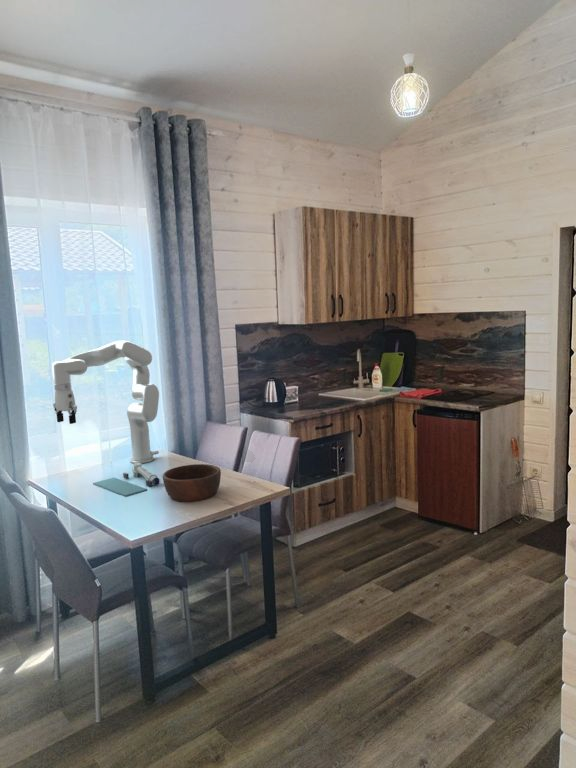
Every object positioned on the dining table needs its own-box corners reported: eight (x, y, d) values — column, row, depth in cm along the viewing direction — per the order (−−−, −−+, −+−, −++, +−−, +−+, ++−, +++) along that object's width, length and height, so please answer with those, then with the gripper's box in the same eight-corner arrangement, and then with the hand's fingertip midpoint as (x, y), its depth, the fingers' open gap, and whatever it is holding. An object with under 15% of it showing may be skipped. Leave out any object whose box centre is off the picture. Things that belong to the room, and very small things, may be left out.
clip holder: (142, 472, 293) (141, 468, 292) (169, 481, 276) (168, 476, 276) (123, 477, 285) (122, 473, 285) (150, 487, 269) (149, 481, 268)
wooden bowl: (214, 482, 271) (212, 461, 270) (228, 498, 248) (227, 474, 247) (160, 491, 263) (158, 468, 261) (169, 508, 239) (167, 484, 238)
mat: (114, 478, 285) (114, 477, 285) (147, 490, 264) (147, 488, 264) (93, 484, 278) (92, 482, 278) (125, 496, 256) (125, 495, 256)
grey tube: (150, 478, 268) (129, 461, 288) (151, 492, 270) (130, 473, 289) (161, 476, 271) (139, 458, 291) (161, 489, 273) (140, 471, 292)
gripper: (80, 386, 276) (84, 422, 278) (59, 385, 286) (62, 419, 288) (67, 389, 270) (70, 425, 272) (45, 387, 280) (49, 422, 282)
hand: (66, 422), depth 280 cm, fingers open, 9 cm apart
